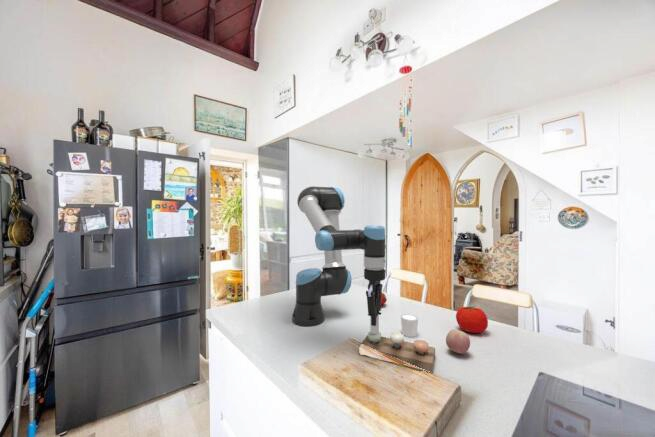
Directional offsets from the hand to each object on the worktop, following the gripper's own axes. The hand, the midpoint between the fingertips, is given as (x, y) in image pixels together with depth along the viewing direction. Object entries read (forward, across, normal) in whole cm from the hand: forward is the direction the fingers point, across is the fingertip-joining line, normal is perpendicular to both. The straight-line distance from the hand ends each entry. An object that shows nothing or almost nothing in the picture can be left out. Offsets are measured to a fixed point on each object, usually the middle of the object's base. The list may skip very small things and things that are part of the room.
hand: (374, 333), depth 95 cm
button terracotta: (+6, 0, -16) cm, 17 cm away
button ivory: (+5, 0, -8) cm, 9 cm away
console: (+6, 0, -8) cm, 10 cm away
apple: (+7, +12, -27) cm, 30 cm away
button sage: (+6, 0, 0) cm, 6 cm away
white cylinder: (+7, +20, -9) cm, 22 cm away
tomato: (+7, +35, -32) cm, 48 cm away
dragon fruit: (+6, +48, +12) cm, 50 cm away
